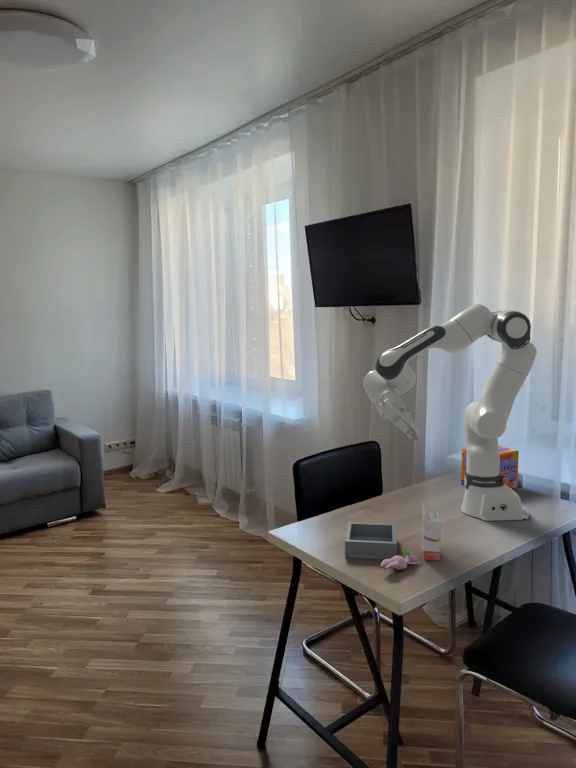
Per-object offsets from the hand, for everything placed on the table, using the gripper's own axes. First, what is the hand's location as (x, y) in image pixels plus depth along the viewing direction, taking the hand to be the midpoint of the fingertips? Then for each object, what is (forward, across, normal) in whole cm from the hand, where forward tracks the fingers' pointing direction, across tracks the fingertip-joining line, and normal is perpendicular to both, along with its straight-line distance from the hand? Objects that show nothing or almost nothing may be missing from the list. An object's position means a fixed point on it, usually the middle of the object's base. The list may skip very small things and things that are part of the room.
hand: (411, 435), depth 179 cm
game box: (0, +66, -6) cm, 66 cm away
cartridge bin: (+24, -2, +30) cm, 38 cm away
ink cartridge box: (+34, +4, +16) cm, 38 cm away
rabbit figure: (+36, -7, +23) cm, 44 cm away
